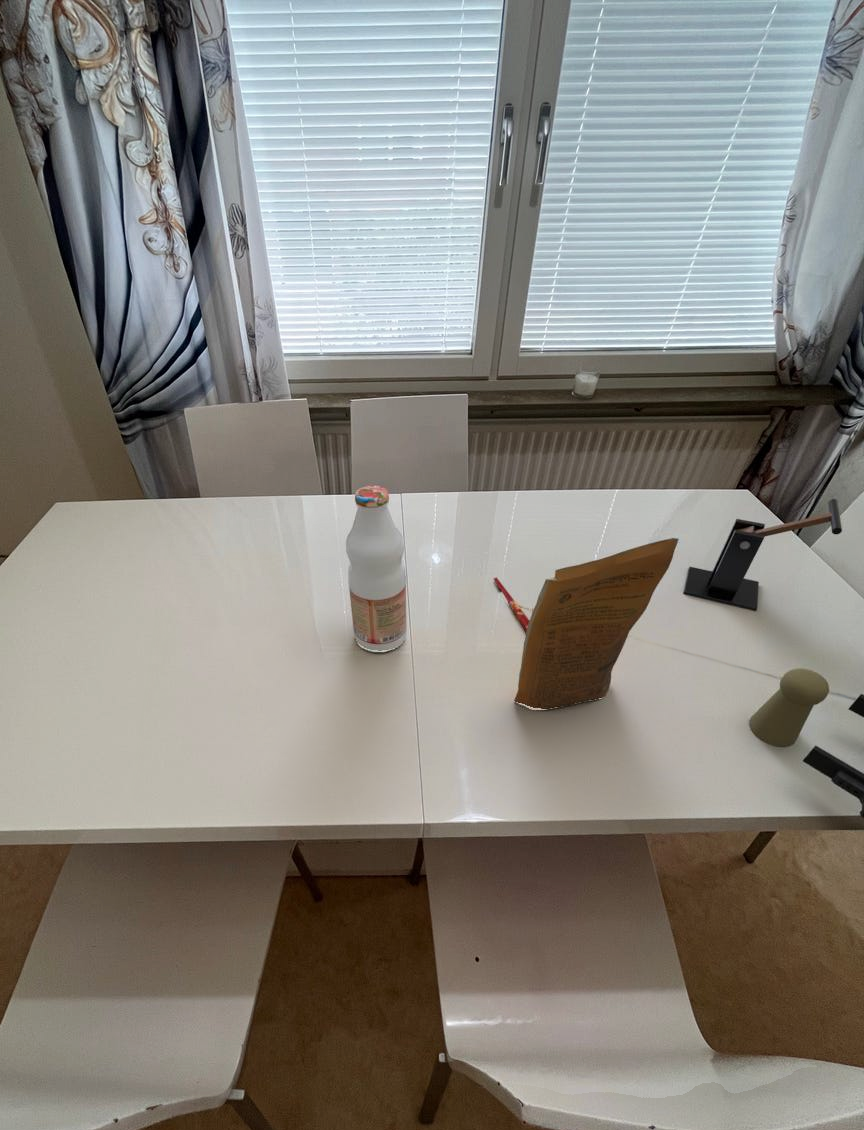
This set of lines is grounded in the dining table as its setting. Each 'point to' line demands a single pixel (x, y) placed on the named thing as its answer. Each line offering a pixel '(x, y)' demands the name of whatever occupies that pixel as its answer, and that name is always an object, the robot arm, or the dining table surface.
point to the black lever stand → (730, 571)
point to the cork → (789, 707)
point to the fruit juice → (376, 573)
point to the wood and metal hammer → (805, 522)
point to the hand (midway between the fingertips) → (832, 726)
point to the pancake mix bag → (587, 624)
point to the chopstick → (514, 605)
